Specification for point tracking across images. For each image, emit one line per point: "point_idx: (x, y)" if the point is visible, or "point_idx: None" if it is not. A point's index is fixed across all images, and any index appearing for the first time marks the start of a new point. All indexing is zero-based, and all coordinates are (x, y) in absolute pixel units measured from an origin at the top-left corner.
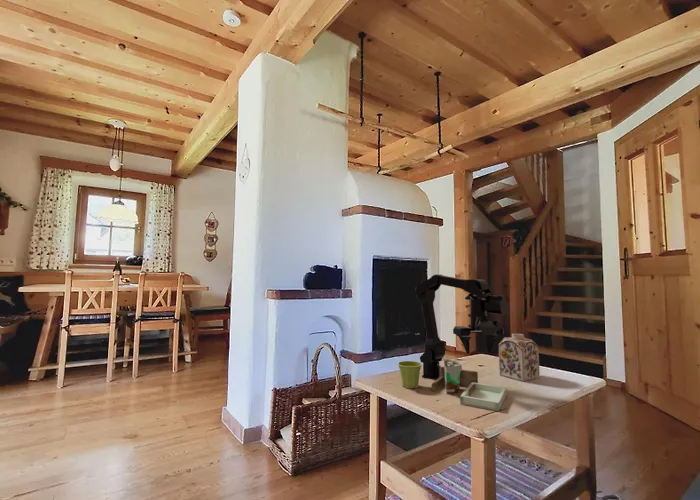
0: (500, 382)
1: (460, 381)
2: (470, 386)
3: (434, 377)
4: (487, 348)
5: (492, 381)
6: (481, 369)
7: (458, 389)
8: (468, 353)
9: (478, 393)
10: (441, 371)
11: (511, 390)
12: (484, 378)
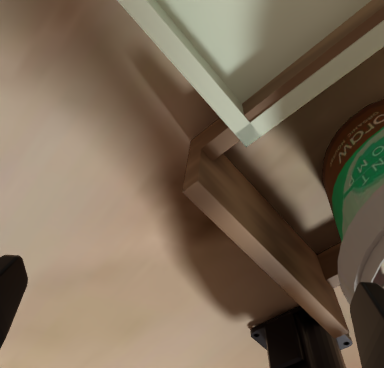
0: (3, 179)
1: (266, 211)
2: (331, 69)
3: None
4: (1, 329)
5: (41, 204)
6: (4, 342)
7: (381, 107)
8: (378, 286)
9: (293, 15)
10: (340, 309)
11: (7, 34)
12: (58, 251)
